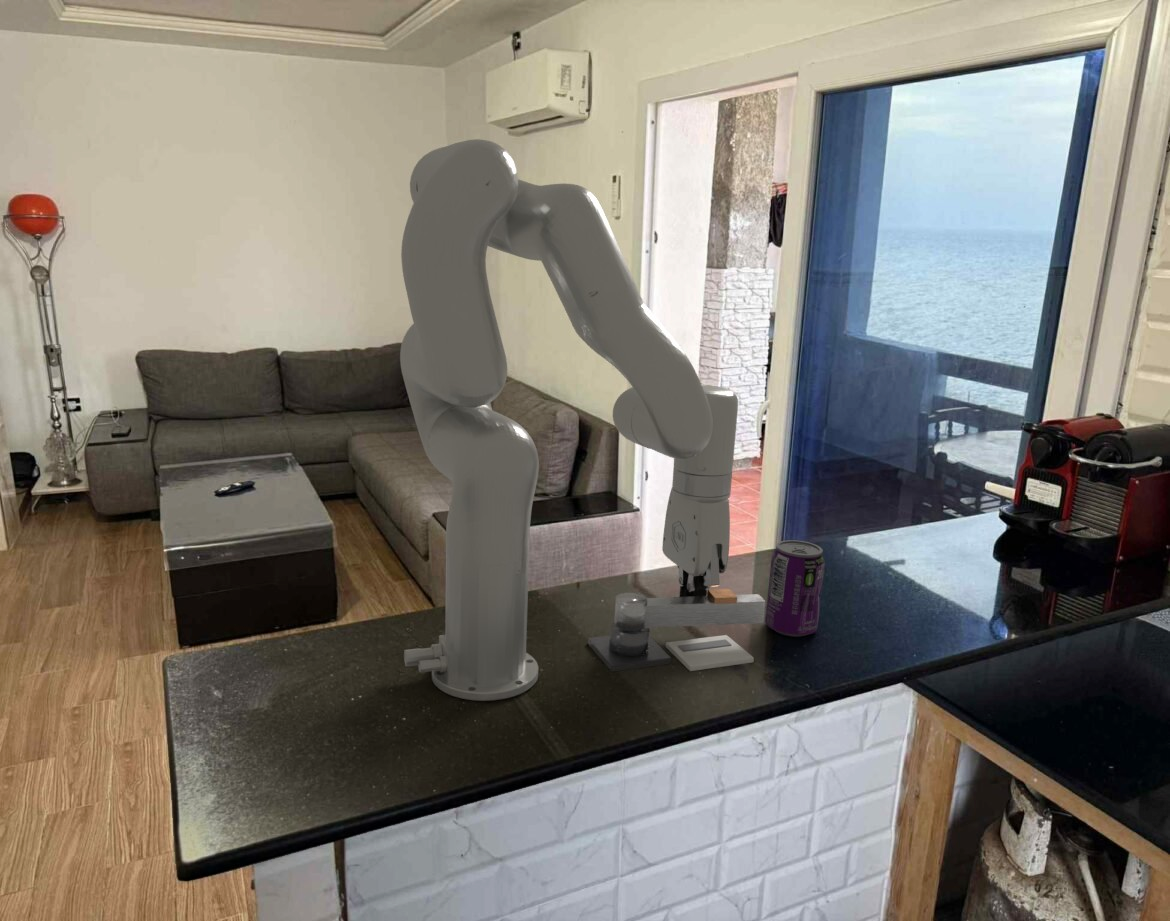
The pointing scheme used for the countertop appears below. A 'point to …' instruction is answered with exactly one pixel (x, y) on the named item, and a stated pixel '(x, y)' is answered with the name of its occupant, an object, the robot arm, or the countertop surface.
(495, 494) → the robot arm
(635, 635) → the pivot pedestal
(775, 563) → the beverage can
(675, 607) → the grey long bar
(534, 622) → the countertop surface
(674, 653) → the label plate
